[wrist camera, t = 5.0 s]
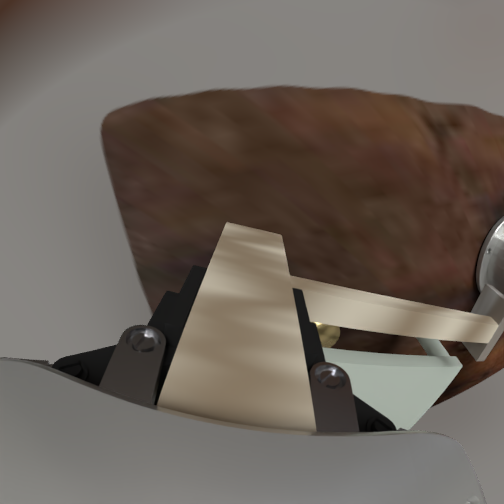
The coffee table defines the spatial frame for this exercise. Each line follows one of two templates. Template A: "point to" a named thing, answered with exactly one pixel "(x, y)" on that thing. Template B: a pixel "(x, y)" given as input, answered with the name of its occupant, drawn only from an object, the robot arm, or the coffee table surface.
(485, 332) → the hoe
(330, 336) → the token
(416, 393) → the stand
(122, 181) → the coffee table surface
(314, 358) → the robot arm
